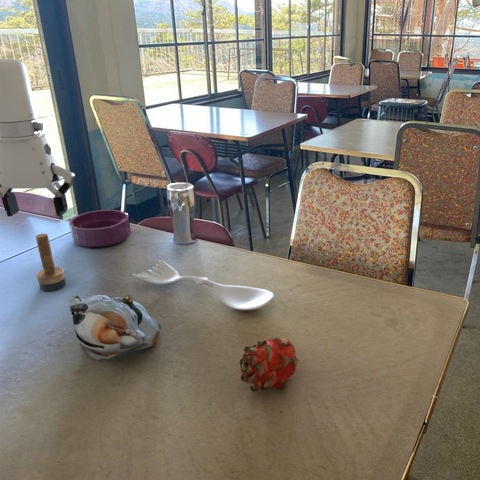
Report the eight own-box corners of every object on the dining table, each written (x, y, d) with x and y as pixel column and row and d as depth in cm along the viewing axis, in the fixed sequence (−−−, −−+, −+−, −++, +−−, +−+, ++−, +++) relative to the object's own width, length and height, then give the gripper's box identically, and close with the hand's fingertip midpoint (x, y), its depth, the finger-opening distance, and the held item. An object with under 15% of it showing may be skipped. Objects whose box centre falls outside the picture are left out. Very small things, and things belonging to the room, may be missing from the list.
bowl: (63, 249, 121) (59, 229, 119) (86, 228, 134) (83, 209, 132) (120, 249, 122) (117, 229, 120) (138, 228, 135) (135, 209, 133)
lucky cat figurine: (176, 333, 89) (163, 295, 78) (129, 388, 82) (107, 354, 71) (115, 295, 93) (94, 253, 82) (66, 344, 86) (35, 306, 75)
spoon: (160, 269, 112) (158, 256, 111) (281, 300, 101) (281, 286, 99) (132, 286, 105) (130, 272, 103) (259, 322, 93) (259, 306, 92)
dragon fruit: (240, 411, 74) (286, 377, 84) (278, 400, 69) (322, 366, 79) (217, 360, 74) (266, 332, 84) (254, 346, 69) (300, 319, 79)
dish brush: (34, 292, 102) (22, 240, 97) (46, 280, 107) (35, 230, 102) (59, 292, 102) (48, 240, 97) (70, 280, 107) (60, 230, 102)
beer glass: (192, 246, 125) (187, 191, 119) (167, 244, 125) (160, 189, 119) (202, 236, 131) (198, 183, 125) (178, 234, 132) (172, 181, 126)
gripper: (72, 125, 94) (88, 207, 101) (-18, 125, 94) (4, 208, 101) (54, 133, 88) (73, 220, 94) (-43, 133, 87) (-17, 221, 94)
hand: (37, 213), depth 98 cm, fingers open, 9 cm apart
